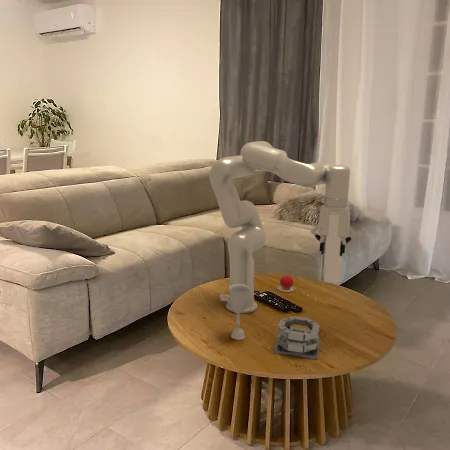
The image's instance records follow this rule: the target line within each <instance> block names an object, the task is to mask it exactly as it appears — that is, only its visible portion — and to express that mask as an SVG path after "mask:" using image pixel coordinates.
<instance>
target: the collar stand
mask: <svg viewBox="0 0 450 450" xmlns="http://www.w3.org/2000/svg"><path fill="white" fill-rule="evenodd" d="M294 325H297V326H305V327H307V328H303V327H297V326H296V327H295V326H294ZM291 326H292V327H291ZM293 326H294V327H293ZM319 332H320V323H318V322H316V321H314V319H313V320H312V319H311V318H309V317H301V316H295V315H294V316H289V317H285V318H281V319H280V320H279V321H278V325H277V333H278V335H277V337H276V344H275V345H274V349H273V354H277V355H285V356H289V357H290V356H291V357H299V358H304V359H311V360H318V358H319V357H318V356H319V351H320V347H321V342H322V340H321V339H320V338H319V337H320V336H319Z"/></svg>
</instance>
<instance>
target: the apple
mask: <svg viewBox="0 0 450 450" xmlns="http://www.w3.org/2000/svg"><path fill="white" fill-rule="evenodd" d="M293 284H294V279H293V278H292V277H291V276H289V275H283V276H282V277H280V280H279V285H277V287H276V289H277V290H278V291H280V292H285V293H289V292H294V291H295V290H296V288H295V287H294V286H293Z"/></svg>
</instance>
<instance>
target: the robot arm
mask: <svg viewBox="0 0 450 450" xmlns="http://www.w3.org/2000/svg"><path fill="white" fill-rule="evenodd" d="M257 170H263V171H266V172H269V173H271V174H274V175H276V176H278V177H279V178H280V179H282V180H284V181H286V182H288V183H291V184H294V185H297V186H300V187H305V188H313V187H317V186H319V185H324V184H325V185H324V186H325V190H324V196H323V197H320V198H319V202H320V203H323V204H322V205H321V207H320V212H319V218H318V223H317V224H316V225H314V227H313V228H312V229H310V234H311V235H313V236H314V237H315V239H316V240H318V241H317V242H319V252H321V253H320V255H322V254H323V252H324V243H323V240H324V238H325V236H328V233H329V228H328V227H329V218H330V214H332V212H337V214H338V215H340V216H339V225H338V228H339V229H338V237H342V245H341V253H340V256H341V257H343V254H345V252H346V245H347V244H348V243H350V242H351V241H352V240H353V239H354V238H356V237H357V235H358V234H357V233H356V231H355V230H354V229H353V227H352V226H351V225H350V224H351V210H350V207H349V205H348V202H349V201H348V200H349V189H350V188H349V187H350V177H351V168H350V167H349V166H347V165H344V164H331V163H328V162H327V163H326V162H321V161H318V162H313V163H304V162H301V161H300V162H299V161H297V160H293V159H292V158H289V157H288V154H287V152H286V151H285V150H284V149H283V150H282V149H278V148H275V147H273V146H272V144H270V143H269V142H267V141H264V140H259V141H251V142H247V143H245V144H244V145H243V146H242V147H241V148H240V154H239V155H232V156H226V157H225V156H224V157H221V158H219V159H217V160H216V161H215V162H214V163H213V164H212V165H211V167H210V170H209V175H208V176H209V177H208V178H209V182H210V185H211V187H212V188H211V189H212V190H213V193H214V195H215V197H216V201H217V204H218V208H219V210H220V213H221V217H222V219H223V222H224V224H225V226H226V227H227V228H230V229H235V228H239V227H240V228H241V229H240V230H237V231H235V232H233V233H232V234H231V235H230V236H229V238H228V239H227V240H228V241H227V250H228V256H229V286H231V285H234V284H245V285H247V286H249V289H248V295H247V304H246V306H245V308H244V310H243V312H242V313H241V314H250V313H252V312H255V311H256V310H257V309H258V303H257V302H256V301H255V300H254V298H255V296H254V293H255V290H254V289H255V262H254V257H253V254H252V253H253V252H255V251H256V250H259V249H261V248H262V247H264V245H265V244H266V232H265V229H264V227H263V226H264V225H263V222H262V220H261V217H260V214H259V211H258V208H257V207H256V205H254V203H253V202H251V201H250V200H241V199H240V196H239V193H238V190H237V187H236V186H235V185H234V184H233V183H232V180H233V179H239V178H243V177H246V176H249V175H251V174H252V173H254V172H255V171H257ZM317 231H318V232H317ZM219 300H220V301H221V302H226V303H225V308H226V309H227V310H228V311H229V312H230V313H231V312H232V313H234V314H236V313H235V312H234V310H233V308H232V305H231V302H230V294H221V293H220V294H219Z"/></svg>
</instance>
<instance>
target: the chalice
mask: <svg viewBox="0 0 450 450" xmlns="http://www.w3.org/2000/svg"><path fill="white" fill-rule="evenodd" d="M228 289H229V295H230V302H231V305H232V308H233V310H234V312H235V313H234V312H233V313H234V314H236V317H235V318H236V322H235V324H236V328H234V329H233V330H232V333H231V335H230V337H231V338H232V339H234V340H243V339H245V338H246V334H245V331H244V329H242V328H241V327H240V325H241V324H242V323H241V320H242V318H241V314H243V313H242V312H243V310H244V308H245V306H246V304H247V295H248V289H249V286H247V285H245V284H234V285H231V286H230V285H229V286H228Z"/></svg>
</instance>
